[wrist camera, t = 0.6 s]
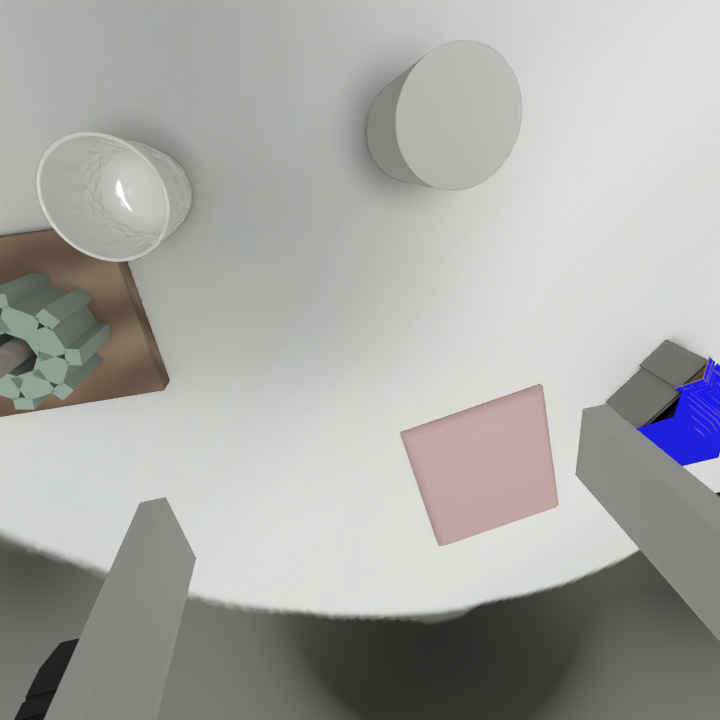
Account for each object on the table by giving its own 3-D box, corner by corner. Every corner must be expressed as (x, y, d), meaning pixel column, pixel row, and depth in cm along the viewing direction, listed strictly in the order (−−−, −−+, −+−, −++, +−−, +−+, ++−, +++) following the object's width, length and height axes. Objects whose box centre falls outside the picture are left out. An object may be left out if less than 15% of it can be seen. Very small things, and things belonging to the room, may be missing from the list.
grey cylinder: (401, 201, 39) (441, 216, 29) (347, 122, 36) (369, 106, 25) (473, 140, 38) (543, 133, 27) (423, 52, 35) (481, 4, 24)
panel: (533, 312, 47) (544, 320, 45) (560, 515, 62) (569, 527, 60) (238, 416, 48) (236, 428, 45) (335, 592, 62) (337, 607, 60)
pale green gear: (-37, 295, 36) (-96, 319, 30) (70, 259, 36) (30, 277, 30) (33, 387, 40) (-7, 423, 35) (129, 356, 40) (103, 386, 35)
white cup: (125, 116, 34) (63, 101, 25) (216, 178, 36) (190, 184, 28) (86, 202, 36) (17, 217, 27) (175, 254, 39) (139, 283, 30)
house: (666, 336, 50) (727, 364, 43) (709, 380, 54) (771, 413, 47) (598, 399, 53) (645, 437, 46) (644, 437, 57) (693, 477, 50)
